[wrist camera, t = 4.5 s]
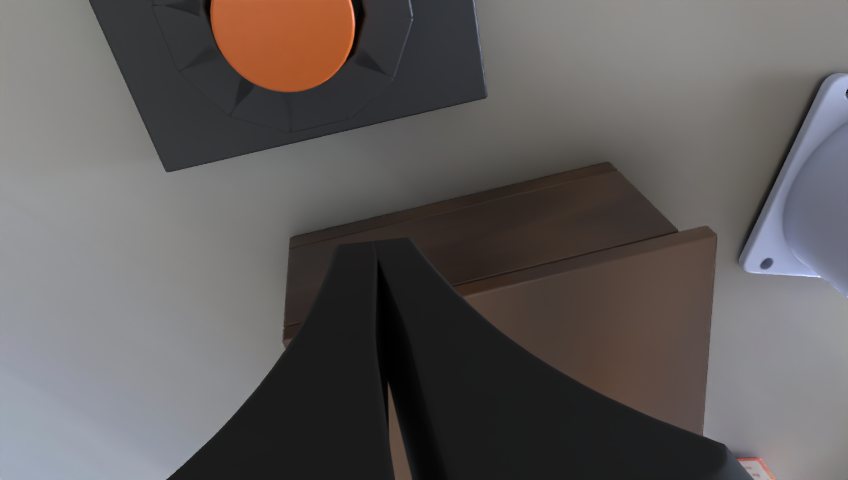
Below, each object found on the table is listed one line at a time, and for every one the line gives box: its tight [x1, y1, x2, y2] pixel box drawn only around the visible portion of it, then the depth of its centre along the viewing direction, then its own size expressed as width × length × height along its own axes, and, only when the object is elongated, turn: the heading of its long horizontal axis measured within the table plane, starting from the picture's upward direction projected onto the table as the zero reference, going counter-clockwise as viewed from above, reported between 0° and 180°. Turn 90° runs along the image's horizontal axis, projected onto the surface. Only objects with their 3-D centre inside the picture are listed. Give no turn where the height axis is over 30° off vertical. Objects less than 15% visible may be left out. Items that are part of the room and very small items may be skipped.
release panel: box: [89, 0, 487, 172], centre depth 17 cm, size 10×8×3 cm
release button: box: [210, 0, 355, 92], centre depth 15 cm, size 3×3×2 cm
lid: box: [282, 226, 717, 480], centre depth 19 cm, size 12×13×4 cm
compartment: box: [283, 162, 678, 328], centre depth 23 cm, size 12×13×5 cm
